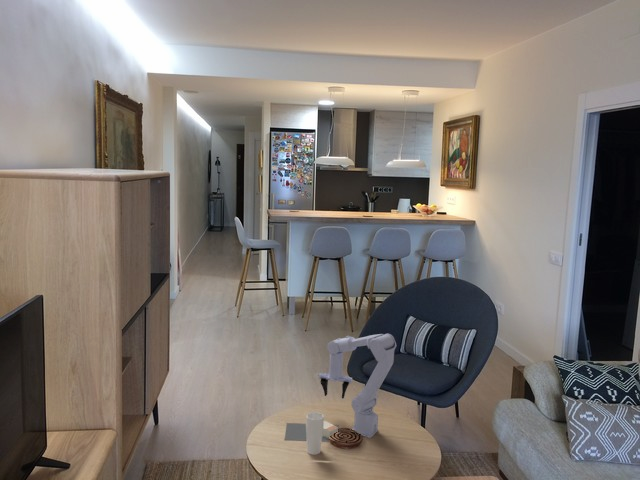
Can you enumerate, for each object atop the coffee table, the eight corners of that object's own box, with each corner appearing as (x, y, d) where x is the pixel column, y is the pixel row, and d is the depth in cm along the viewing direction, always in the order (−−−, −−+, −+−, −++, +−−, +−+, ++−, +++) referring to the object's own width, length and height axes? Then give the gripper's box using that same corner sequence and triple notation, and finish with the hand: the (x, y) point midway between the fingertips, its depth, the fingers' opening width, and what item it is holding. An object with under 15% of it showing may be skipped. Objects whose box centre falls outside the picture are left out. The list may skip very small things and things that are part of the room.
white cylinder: (324, 449, 206) (326, 413, 204) (318, 458, 200) (320, 421, 198) (308, 446, 209) (309, 410, 206) (302, 454, 202) (303, 417, 200)
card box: (314, 430, 219) (314, 423, 219) (322, 426, 223) (323, 419, 222) (329, 438, 213) (329, 431, 213) (337, 434, 217) (338, 427, 216)
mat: (338, 426, 225) (338, 424, 225) (339, 443, 211) (339, 442, 211) (286, 424, 225) (286, 422, 225) (284, 441, 211) (284, 439, 211)
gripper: (317, 367, 228) (316, 397, 230) (350, 372, 225) (349, 402, 227) (321, 361, 235) (320, 391, 237) (353, 366, 231) (352, 395, 233)
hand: (334, 396), depth 232 cm, fingers open, 7 cm apart
